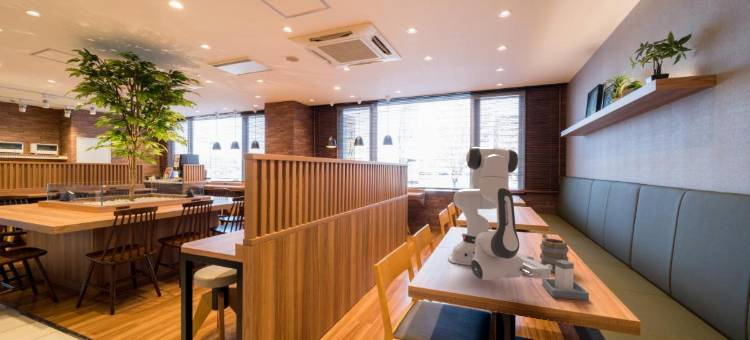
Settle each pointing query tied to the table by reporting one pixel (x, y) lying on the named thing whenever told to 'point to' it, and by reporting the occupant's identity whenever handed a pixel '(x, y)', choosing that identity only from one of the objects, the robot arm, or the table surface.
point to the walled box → (565, 291)
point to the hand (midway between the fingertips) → (541, 262)
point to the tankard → (553, 251)
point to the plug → (564, 275)
